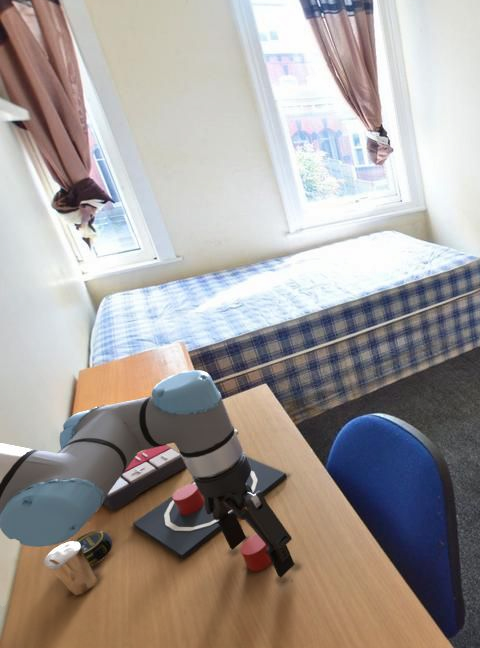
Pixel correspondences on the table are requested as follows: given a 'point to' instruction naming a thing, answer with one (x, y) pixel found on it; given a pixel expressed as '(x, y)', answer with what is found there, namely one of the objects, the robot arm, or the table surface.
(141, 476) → the calculator
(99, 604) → the table surface
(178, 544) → the face mat
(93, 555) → the tape measure
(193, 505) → the red cylinder block
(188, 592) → the table surface
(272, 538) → the robot arm
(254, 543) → the red short cylinder
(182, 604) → the table surface
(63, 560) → the milkshake
